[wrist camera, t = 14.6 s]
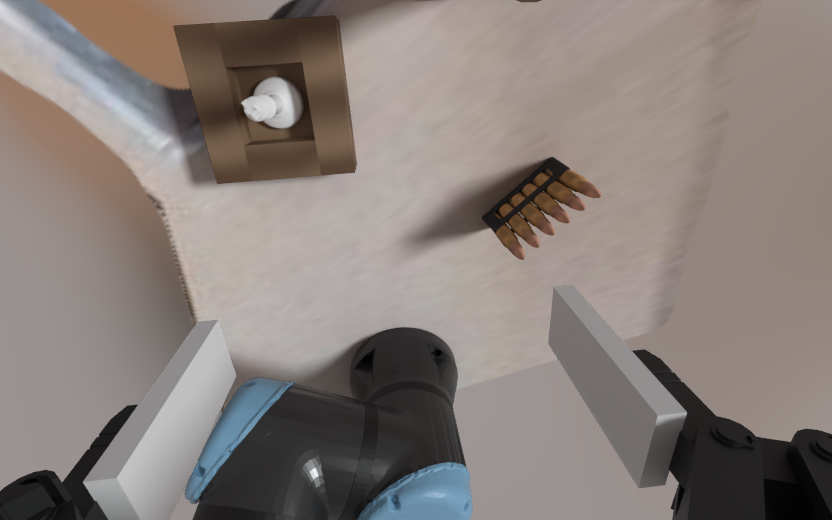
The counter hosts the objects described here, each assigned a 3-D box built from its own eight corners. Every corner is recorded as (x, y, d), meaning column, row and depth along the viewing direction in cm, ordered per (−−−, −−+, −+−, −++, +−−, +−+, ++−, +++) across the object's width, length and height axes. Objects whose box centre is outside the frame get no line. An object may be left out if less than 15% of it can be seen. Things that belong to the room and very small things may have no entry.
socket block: (356, 164, 45) (354, 172, 42) (230, 174, 45) (217, 183, 41) (338, 20, 39) (334, 15, 36) (192, 29, 39) (173, 25, 35)
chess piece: (278, 138, 42) (248, 155, 33) (243, 97, 41) (202, 103, 32) (313, 108, 42) (293, 117, 32) (279, 65, 40) (247, 62, 31)
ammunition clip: (551, 156, 47) (603, 181, 36) (560, 167, 48) (614, 196, 37) (481, 217, 49) (510, 258, 39) (490, 227, 50) (521, 271, 39)
